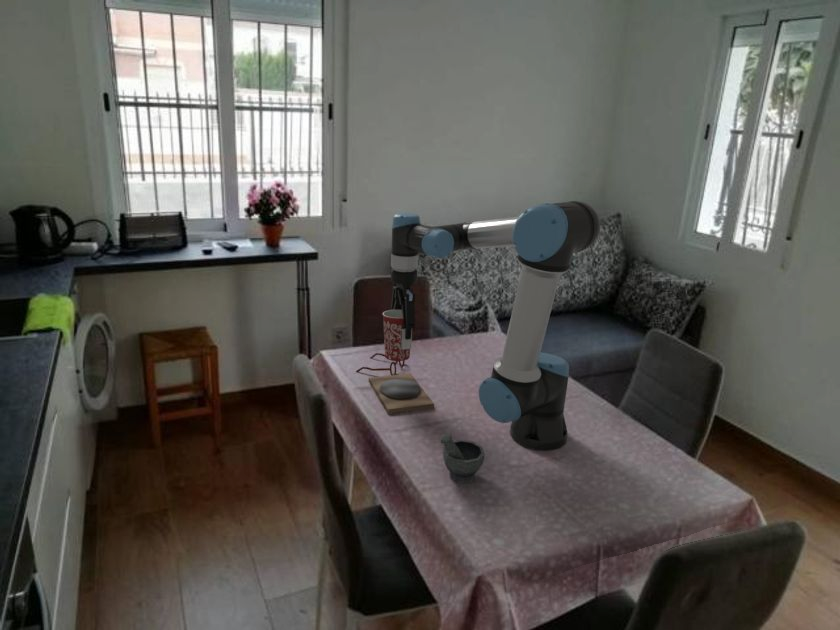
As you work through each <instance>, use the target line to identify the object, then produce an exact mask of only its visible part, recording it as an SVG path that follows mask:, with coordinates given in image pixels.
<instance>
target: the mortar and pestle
mask: <svg viewBox="0 0 840 630" xmlns="http://www.w3.org/2000/svg"><path fill="white" fill-rule="evenodd" d="M439 441H440V444H443V447H442V456H443V461H444V462H443V463H444V465H445V467H446V469H447V470H448V471H449V473H448V475H449V478H450V480H452V481H453V482H455V483H460V484H469V483H471V482H473V481H474V480H475V479H476V473H478V472H479V470H480V469H481V468H482V466H483V464H484V461H485V457H486V454H485V450H484V448H483V446H481V445H480V444H478V443H476V442H474V441H472V440H471V441H470V440H466V439H465V440H463V439H457V440H453V437H452V435H451V434H450V433H444V434H442V435H441V436H440V438H439Z"/></svg>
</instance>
